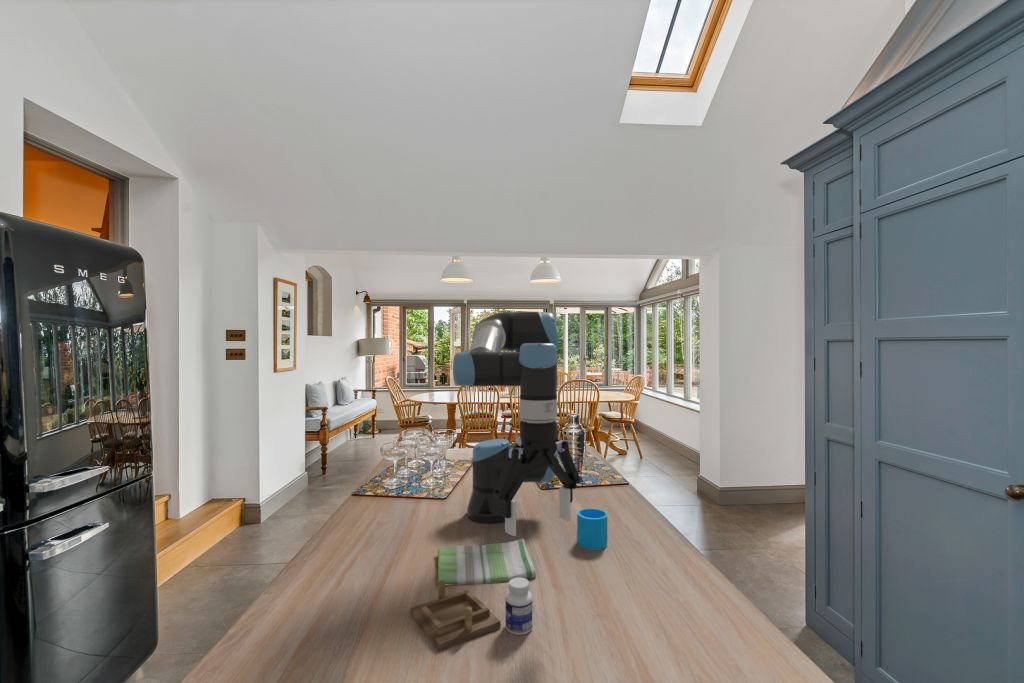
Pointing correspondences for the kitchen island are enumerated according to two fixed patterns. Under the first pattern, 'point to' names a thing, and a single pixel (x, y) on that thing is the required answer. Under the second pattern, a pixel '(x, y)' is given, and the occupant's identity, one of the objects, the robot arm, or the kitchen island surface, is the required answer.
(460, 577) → the dish towel
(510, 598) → the pill bottle
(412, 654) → the kitchen island surface
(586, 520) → the mug
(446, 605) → the cradle
